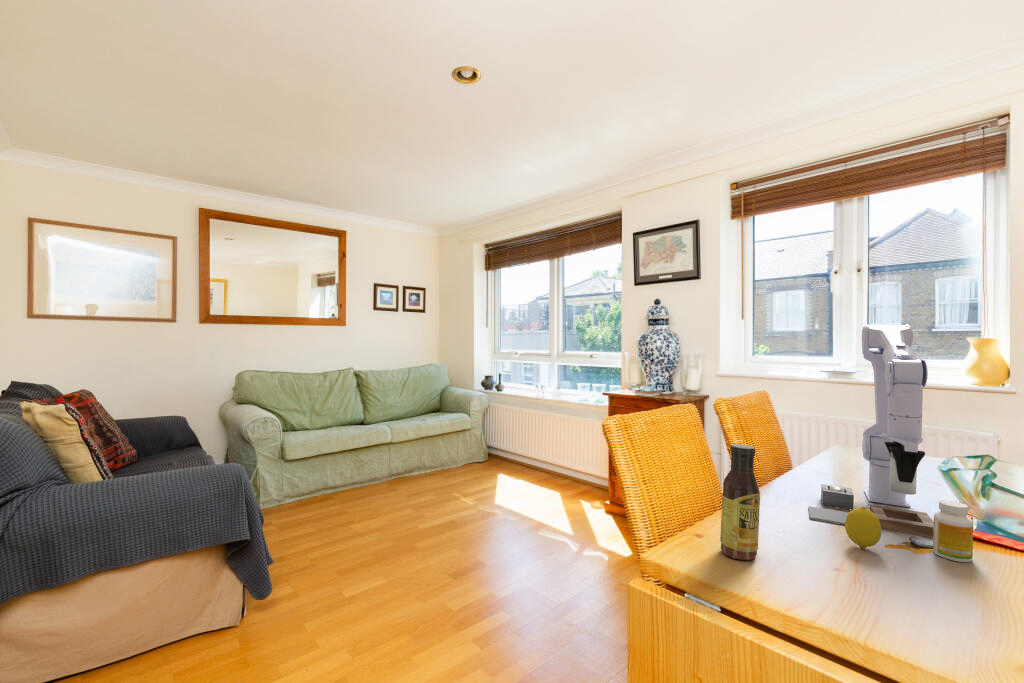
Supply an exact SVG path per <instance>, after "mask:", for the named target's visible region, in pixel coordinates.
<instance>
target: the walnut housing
mask: <svg viewBox="0 0 1024 683" xmlns="http://www.w3.org/2000/svg"><path fill="white" fill-rule="evenodd" d="M869 510H870V511H872V512H873V513H874V514H875V515H876V516H877V517H878V519H879V521H880V525H881V530H887V531H893V532H899V533H903V534H904V533H905V534H912V535H915V536H916V535H917V536H923V537H929V538H933V524H934V519H932V518H931V516H929V514H928V513H927V512H923V511H917V510H911V509H903V508H897V507H890V506H886V505H885V506H884V505H879V504H878V505H877V504H871V503H869Z"/></svg>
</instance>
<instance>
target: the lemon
mask: <svg viewBox="0 0 1024 683" xmlns="http://www.w3.org/2000/svg"><path fill="white" fill-rule="evenodd" d="M844 527H845V533H846V535H847V536H848V538H849V540H850V541H852V542H853V543H854V544H856V545H857V546H858V547H859V548H860V549H862V550H866V549H867V548H869V547H873V546H875V545H877V544H878V543H879V541H880V540H881V537H882V529H881V525H880V521H879V519H878V517H877V516H876V515H875V514H874V513H873V512H872V511H870V509H868V508H867V507H866V506H863V505H862V506H860V507H857V508H854V509H853V510H849V511H848V515H847V518H846V522H845V525H844Z"/></svg>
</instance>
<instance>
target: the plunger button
mask: <svg viewBox="0 0 1024 683" xmlns="http://www.w3.org/2000/svg"><path fill="white" fill-rule="evenodd" d="M842 487H843V486H837V485H831V486H830V491H837V492H844V493H845V489H844V488H842Z"/></svg>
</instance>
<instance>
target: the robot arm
mask: <svg viewBox="0 0 1024 683" xmlns="http://www.w3.org/2000/svg"><path fill="white" fill-rule="evenodd" d="M913 333H914V332H913V328H912V326H910V324H899V325H897V324H895V325H893V324H892V325H891V324H889V325H888V324H883V325H882V324H880V325H879V324H875V325H874V324H870V325H869V324H865V325H864V326H863V327H862V330H861V348H862V349H861V351H862V352H861V353H862V356H863V359H865V360H867V361H868V362H870V363H871V366H872V369H873V380H874V382H873V383H874V407H875V408H874V409H875V410H874V411H875V423H874V424H872V425H870V426H868V427H866V428H865V429H864V430H863V433H862V444H861V445H862V446H861V447H862V451H861V452H862V457H863V459H865V461H868V462H869V463H868V466H869V467H868V489H865V488H864V489H863V492H864V494H865V496H866V498H867V500H868V501H869V502H871V503H872V502H873V503H877V504H878V503H879V504H885V505H892V506H898V507H899V506H900V507H906V508H911V505H912V504H910V502H909V501H908V500H907V499H906V498H907V497H906V495H907V494H901V493H897V492H894V491H891V490H890V456H891V452H892V454H893V456H894V459H895V463H896V468H897V475H898V479H899V481H900V482H907V483H912V482H913V479H914V476H915V473H916V470H917V471H918V466H919V464H920V463H921V461H922V459H923V458H924V457H925V456H926V452H925V451H924V450H919V445H920V444H922V443H923V442H924V439H923V437H922V436H923V433H922V432H923V428H922V427H923V400H924V399H923V394H924V393H923V392H924V388H925V387H926V385H927V381H928V376H929V375H928V365H927V362H926V360H925V359H923V358H921V359H918V358H917V356H916V354H915V352H914V350H913V348H912V346H913V340H914V339H913V338H914V334H913Z"/></svg>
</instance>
